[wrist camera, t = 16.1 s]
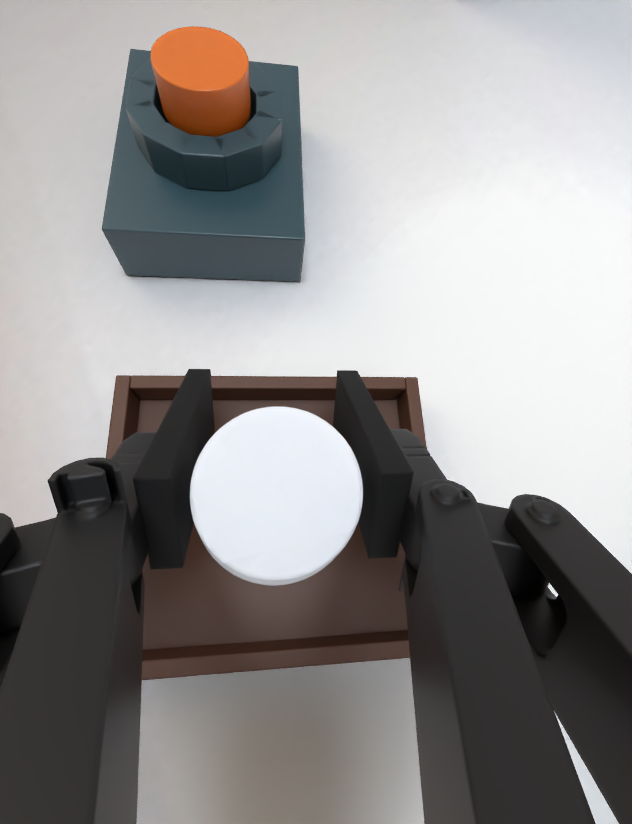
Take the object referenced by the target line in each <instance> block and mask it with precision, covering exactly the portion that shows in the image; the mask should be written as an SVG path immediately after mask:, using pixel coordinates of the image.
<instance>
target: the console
mask: <svg viewBox="0 0 632 824" xmlns="http://www.w3.org/2000/svg"><path fill="white" fill-rule="evenodd" d="M150 56H151V51H146V50H136V49H131V50H130V55H129V61H128V68H127V74H126V80H125V87H124V93H123V99H122V105H121V112H120V118H119V124H118V130H117V137H116V143H115V149H114V156H113V162H112V168H111V174H110V181H109V187H108V193H107V200H106V206H105V212H104V218H103V225H102V231H103V232H104V234H105V236H106V238H107V240H108V242H109V244H110V245H111V247H112V249H113V251H114V253H115V255H116V256H117V258H118V260H119V262H120V264H121V266H122V268H123V269H124V271H125V273H126V275H131V276H159V277H186V278H214V279H241V280H269V281H296V282H299V281H300V278H301V269H302V261H303V252H304V244H305V226H304V201H303V176H302V151H301V126H300V101H299V76H298V67H297V66H291V65H281V64H271V63H262V62H252V61H249V79H250V102H251V114H250V118H249V120H248V122H247V124H246V125H245V126H244V127H243V128H242V129H239V130H236V131H233V132H230V133H227V134H224V135H221V136H218V137H213V136H200V135H190V134H188V133H186V132H184V131H182V130H180V129H178V128H176V127H174V126H172V125H171V124H170V122H169V121H168V120H167V118H166V117H165V115H164V112H163V108H162V104H161V100H160V96H159V92H158V88H157V84H156V80H155V76H154V72H153V68H152V64H151V59H150Z"/></svg>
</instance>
